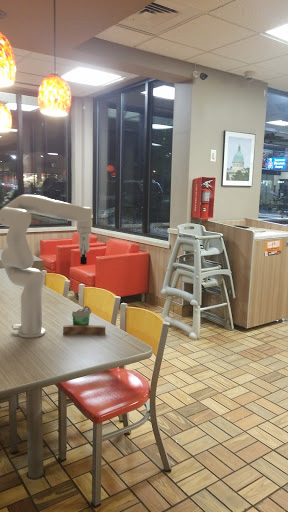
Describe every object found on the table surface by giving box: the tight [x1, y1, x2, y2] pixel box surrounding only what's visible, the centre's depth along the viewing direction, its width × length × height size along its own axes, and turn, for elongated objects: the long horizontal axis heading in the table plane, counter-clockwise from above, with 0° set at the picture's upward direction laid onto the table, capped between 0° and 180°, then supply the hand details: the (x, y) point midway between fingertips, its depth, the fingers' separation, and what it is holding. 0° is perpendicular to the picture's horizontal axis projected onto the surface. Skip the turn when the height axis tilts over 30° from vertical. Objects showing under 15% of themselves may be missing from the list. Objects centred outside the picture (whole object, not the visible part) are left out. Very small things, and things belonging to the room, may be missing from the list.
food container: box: [71, 305, 92, 325], centre depth 195 cm, size 12×6×10 cm, turn 156°
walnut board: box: [62, 324, 106, 336], centre depth 188 cm, size 20×2×4 cm, turn 95°
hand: (83, 264), depth 211 cm, fingers closed
